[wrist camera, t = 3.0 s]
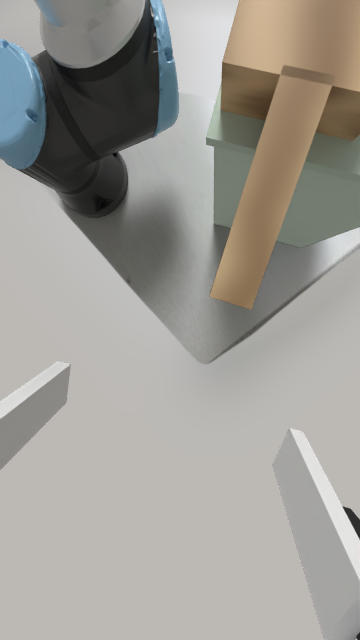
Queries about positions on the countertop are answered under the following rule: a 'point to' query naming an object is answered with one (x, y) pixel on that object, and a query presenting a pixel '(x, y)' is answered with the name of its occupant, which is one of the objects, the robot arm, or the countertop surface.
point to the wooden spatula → (283, 115)
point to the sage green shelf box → (311, 189)
